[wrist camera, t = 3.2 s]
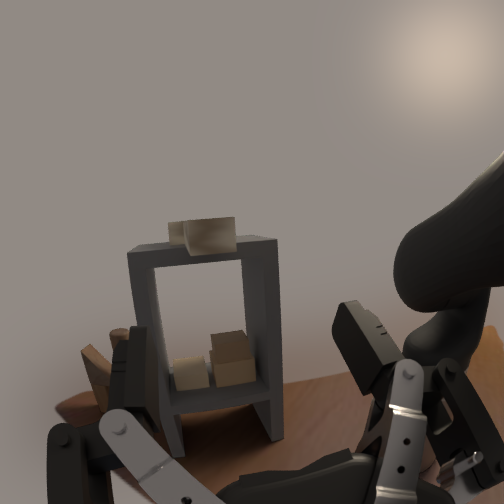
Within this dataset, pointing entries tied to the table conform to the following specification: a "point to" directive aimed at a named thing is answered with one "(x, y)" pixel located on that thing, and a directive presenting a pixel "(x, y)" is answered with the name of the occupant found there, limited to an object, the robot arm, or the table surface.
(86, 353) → the wooden block
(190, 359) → the frame
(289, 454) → the table surface
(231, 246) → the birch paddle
